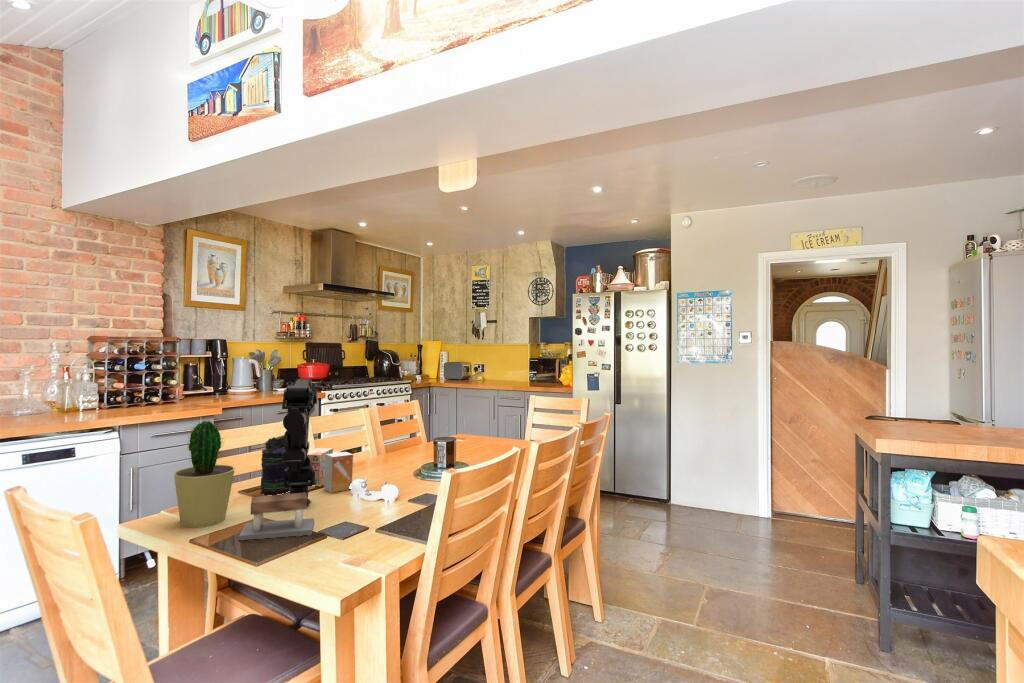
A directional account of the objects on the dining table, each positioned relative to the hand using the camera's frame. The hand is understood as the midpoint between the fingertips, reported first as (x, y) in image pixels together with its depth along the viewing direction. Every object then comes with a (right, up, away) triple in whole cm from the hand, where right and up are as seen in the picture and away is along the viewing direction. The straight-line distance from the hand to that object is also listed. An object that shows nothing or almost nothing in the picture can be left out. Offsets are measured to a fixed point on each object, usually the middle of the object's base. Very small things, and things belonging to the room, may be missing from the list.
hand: (295, 478), depth 152 cm
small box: (+2, -13, +31) cm, 34 cm away
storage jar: (-18, -12, +27) cm, 35 cm away
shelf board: (0, -5, -11) cm, 13 cm away
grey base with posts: (0, -12, -12) cm, 17 cm away
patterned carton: (-8, -13, +45) cm, 47 cm away
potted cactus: (-25, -12, -4) cm, 28 cm away
